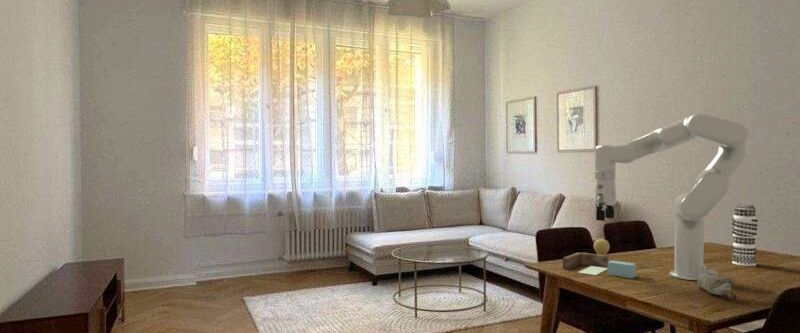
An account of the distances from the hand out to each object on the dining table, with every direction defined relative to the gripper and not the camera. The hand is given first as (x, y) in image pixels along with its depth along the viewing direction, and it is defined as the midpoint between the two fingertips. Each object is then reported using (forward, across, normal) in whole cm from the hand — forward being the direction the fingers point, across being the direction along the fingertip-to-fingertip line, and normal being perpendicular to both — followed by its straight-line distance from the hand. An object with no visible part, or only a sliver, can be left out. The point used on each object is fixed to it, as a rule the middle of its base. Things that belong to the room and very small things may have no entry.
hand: (605, 219), depth 203 cm
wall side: (+20, +6, +8) cm, 23 cm away
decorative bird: (+21, -11, -40) cm, 47 cm away
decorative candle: (+21, +52, -39) cm, 68 cm away
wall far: (+20, -1, +13) cm, 24 cm away
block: (+21, -4, -8) cm, 22 cm away
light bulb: (+21, +14, +7) cm, 26 cm away
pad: (+20, -4, +3) cm, 21 cm away
